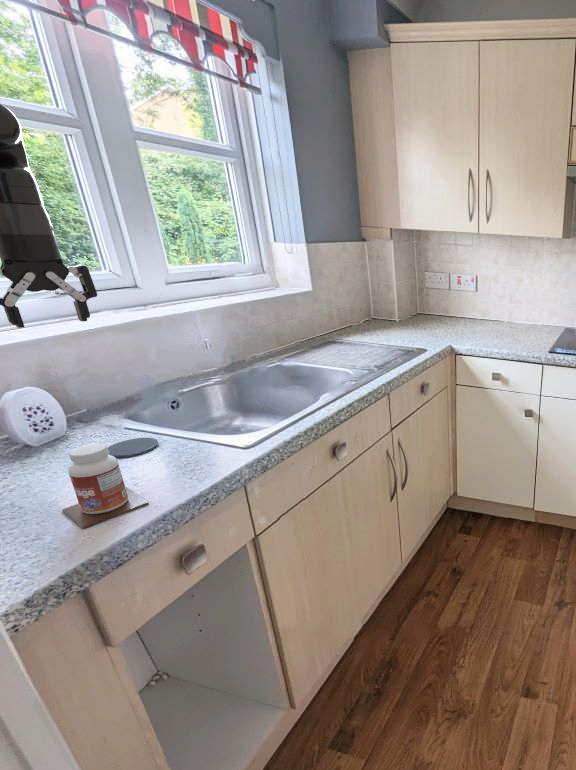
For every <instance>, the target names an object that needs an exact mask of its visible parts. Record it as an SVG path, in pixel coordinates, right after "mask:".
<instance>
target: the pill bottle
mask: <svg viewBox="0 0 576 770" xmlns="http://www.w3.org/2000/svg"><path fill="white" fill-rule="evenodd" d="M108 454H109V450H108V446H107V444H106V443H103V442H102V443H101V442H93V443H87V444H84V445H79V446H77V447H76V446H75V448H73V449H71V450H70V451H68V455H69V459H70V461H71V462H72V463H70V465H69V467H68V469H67V471H68V475H69V478H70V482H71V484H72V487H73V491H74V492H75V496H76V499H77V502H78V504H79V505H80V508H81V510H82V511H83V512H84V513H87V514H100V513H105V512H109V511H112V510H115V509H117V508H119V507H120V506H122V505H123V504H125V503H126V502H127V500H128V495H127V491H126V488H125V487H126V485H125V481H124V478H123V475H122V471H121V467H120V464H119V461H118V458H115V457H114V456H111V455H108Z"/></svg>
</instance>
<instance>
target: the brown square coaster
mask: <svg viewBox="0 0 576 770" xmlns="http://www.w3.org/2000/svg"><path fill="white" fill-rule="evenodd" d="M125 488H126V491H127V495H128V500H127V502H126V503H125V504H123V505H122V506H120V507H119V508H117V509H115V510H112V511H109V512H105V513H100V514H87V513H84V512H83V511H82V510H81V508H80V505H79V503H77V504H73V505H70V506H68V507H65V508H62V509H61V512H63V513H64V514H65V515H66V516H67V517H68V518H70V519H71V520H72V521H73V522H74V523H75V524H76V525H77V526H78V527H80V529H82V530H85V529H88V528H91V527H92V526H95V525H98V524H100V523H103V522H106V521H108V520H111V519H114V518H116V517H118V516H121V515H125V514H127V513H129V512H132V511H134V510H137V509H140V508H143V507H146V506H147V505H149V504H150V503H149V501H147V500H146V499H145V498H143V497H142V496H140V495H139V494H138V493H136V492H135V491H133V490H132V489H130V488H129V487H127V486H125Z"/></svg>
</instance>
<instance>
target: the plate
mask: <svg viewBox="0 0 576 770" xmlns="http://www.w3.org/2000/svg"><path fill="white" fill-rule="evenodd" d="M158 446H159V440H158V439H157V438H154V437H136V438H131V439H126V440H125V439H124V440H122V441H119V442H116V443H114V444H112V445H109V446H107V448H108V450H109V454H108V455H111V456H114V457H115V458H116V459H124V458H130V457H131V458H132V457H136V456H140V455H143V454H146V453H148V452H151V451H154V449H156V448H157V447H158Z"/></svg>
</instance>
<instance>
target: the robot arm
mask: <svg viewBox="0 0 576 770" xmlns="http://www.w3.org/2000/svg"><path fill="white" fill-rule="evenodd" d="M0 261H1V264H0V265H1V266H0V275H2V276H3V277H4V278H6V279H8V280H9V281H10V282H11V284H10V285H9V286H8V288H7V290H6V292H5V293H4V295H3V296H2V297H0V306H2V307H3V309H4V313H5V316H6V318H7V321H8V322H9V324H11V325H13V326H15V327H16V328H18V329H23V328H25V324H24V321H23V318H22V315H21V311H20V309H19V306H16V304H17V302H18V301H19V299H20V298H21V297H22V296H24V294H25V293H26V291H28V292H31V293H38V292H42V291H48V292H54V291H57V290H60V291H62V292H63V293H65V294H66V295H67V296H69V297H71V298H72V299H73V305H74V309H75V312H76V315H77V318H78V321H80V322H82V323H83V322H88V319H90V318H91V313H90V310H89V307H88V303H87V301H88V300H90V299H92V298H97V297H98V291H97V289H96V287H95V284H94V281H93V278H92V275H91V273H90V270H89V267H88V266H86V265H83V264H76V265H71V266H66V264H65V263H64V262H63V259H62V255H61V251H60V248H59V245H58V242H57V238H56V235H55V229H54V226H53V225H52V222H51V219H50V216H49V214H48V212H47V210H46V207H45V206H44V202H43V199H42V195H41V192H40V189H39V186H38V183H37V180H36V178H35V176H34V174H33V173H32V171H31V168H30V165H29V160H28V156H27V152H26V149H25V144H24V139H23V136H22V125H21V124H20V121H19V120H18V118H17V117H16V115H15V114H14V113H13V112H12V111H11V110H10V109H9V108H7V107H6V105H3V104H2V103H0ZM70 273H71V274H72V275H73V277H75V278H78V280H79V283H80V285H81V288H82V292H80V291H78V290H77V289H76V288H75V287H73V286H72V285H70V284H69V282H66V281H65V280H66V279H67V277H68V276H69V274H70Z"/></svg>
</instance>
